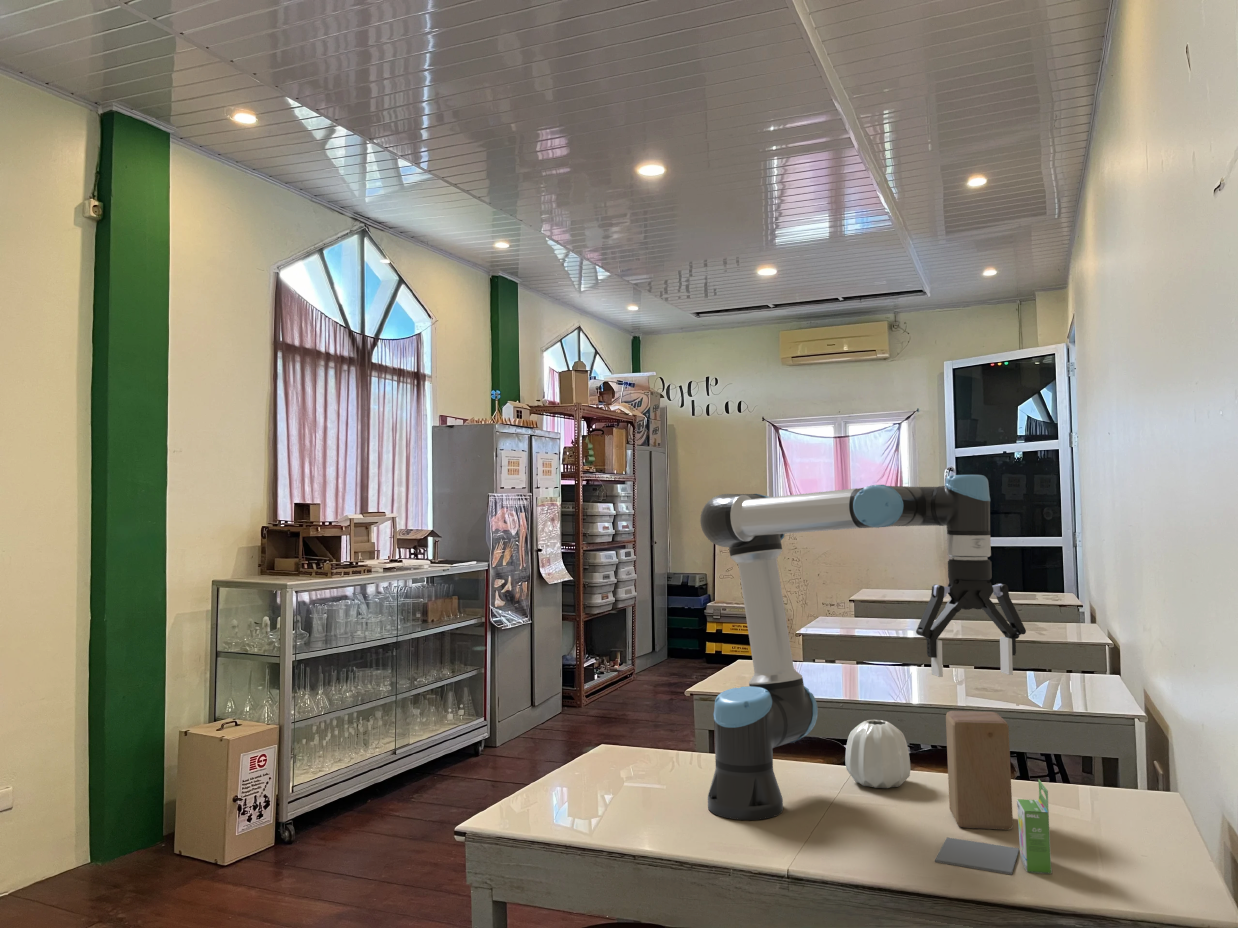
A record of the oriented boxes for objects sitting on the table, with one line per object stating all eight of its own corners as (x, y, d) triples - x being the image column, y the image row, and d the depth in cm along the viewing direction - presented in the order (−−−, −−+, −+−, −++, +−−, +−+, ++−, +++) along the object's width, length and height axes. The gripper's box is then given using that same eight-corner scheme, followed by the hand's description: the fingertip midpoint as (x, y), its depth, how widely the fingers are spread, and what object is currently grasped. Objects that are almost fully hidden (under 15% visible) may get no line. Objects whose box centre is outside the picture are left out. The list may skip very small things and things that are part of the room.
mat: (934, 861, 151) (934, 859, 151) (947, 839, 161) (946, 837, 161) (1011, 874, 145) (1011, 872, 145) (1019, 850, 155) (1019, 848, 155)
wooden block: (1014, 831, 165) (1009, 722, 166) (957, 828, 167) (953, 720, 168) (1002, 814, 174) (997, 710, 176) (948, 811, 176) (944, 709, 178)
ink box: (1018, 856, 152) (1015, 777, 153) (1044, 858, 151) (1040, 778, 152) (1025, 872, 146) (1022, 789, 147) (1052, 874, 145) (1048, 790, 146)
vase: (843, 774, 203) (841, 714, 204) (905, 775, 201) (903, 715, 202) (850, 792, 190) (848, 728, 191) (917, 794, 188) (915, 729, 189)
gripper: (914, 560, 158) (917, 680, 157) (1044, 558, 162) (1047, 676, 161) (896, 557, 166) (898, 672, 165) (1020, 556, 169) (1023, 668, 168)
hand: (972, 674), depth 163 cm, fingers open, 13 cm apart
